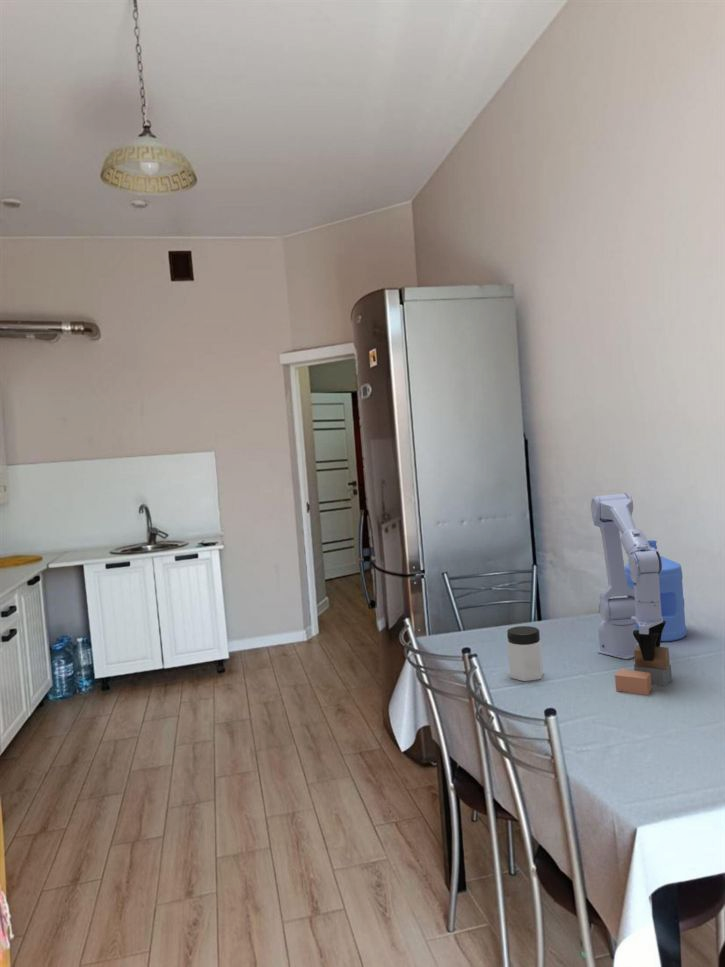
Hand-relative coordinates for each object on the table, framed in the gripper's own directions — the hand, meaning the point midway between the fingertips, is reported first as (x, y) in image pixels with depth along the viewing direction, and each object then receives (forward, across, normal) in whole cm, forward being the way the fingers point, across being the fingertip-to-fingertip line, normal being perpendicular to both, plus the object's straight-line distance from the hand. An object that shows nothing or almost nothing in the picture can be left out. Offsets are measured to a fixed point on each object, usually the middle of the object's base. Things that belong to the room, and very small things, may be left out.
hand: (651, 655), depth 160 cm
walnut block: (+2, 0, 0) cm, 2 cm away
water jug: (+6, -39, -5) cm, 40 cm away
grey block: (+6, 0, 0) cm, 6 cm away
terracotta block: (+6, +7, -3) cm, 10 cm away
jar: (+6, +6, -30) cm, 31 cm away
